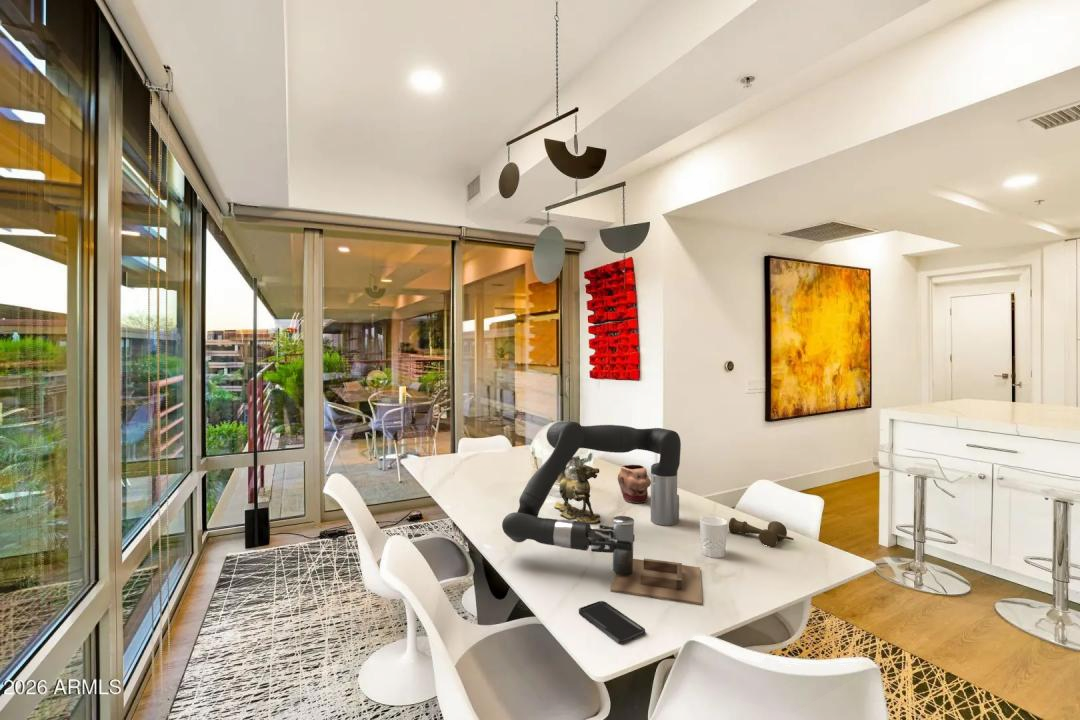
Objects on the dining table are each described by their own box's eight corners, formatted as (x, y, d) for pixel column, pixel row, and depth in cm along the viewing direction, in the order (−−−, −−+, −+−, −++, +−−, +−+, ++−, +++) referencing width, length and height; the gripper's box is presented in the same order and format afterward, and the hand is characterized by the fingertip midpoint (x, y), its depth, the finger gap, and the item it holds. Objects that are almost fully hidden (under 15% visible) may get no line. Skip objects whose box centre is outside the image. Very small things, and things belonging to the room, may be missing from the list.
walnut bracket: (610, 591, 121) (610, 579, 121) (620, 559, 140) (620, 548, 140) (702, 605, 115) (702, 592, 115) (699, 569, 134) (699, 558, 134)
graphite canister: (624, 564, 134) (625, 514, 134) (637, 572, 129) (638, 521, 129) (608, 568, 131) (609, 517, 131) (620, 576, 126) (621, 524, 126)
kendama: (736, 529, 166) (799, 544, 152) (724, 537, 160) (789, 553, 145) (736, 512, 166) (798, 525, 152) (724, 519, 159) (788, 534, 145)
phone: (602, 600, 115) (647, 630, 103) (602, 604, 116) (647, 635, 103) (576, 609, 111) (619, 642, 99) (576, 614, 111) (619, 647, 99)
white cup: (726, 550, 147) (726, 517, 147) (727, 560, 140) (728, 526, 140) (699, 546, 150) (699, 514, 150) (699, 556, 142) (699, 523, 142)
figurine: (581, 527, 166) (582, 469, 166) (543, 507, 187) (543, 455, 187) (610, 520, 173) (610, 464, 172) (570, 502, 194) (570, 452, 194)
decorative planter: (607, 494, 206) (608, 461, 205) (632, 491, 210) (632, 459, 210) (633, 508, 187) (633, 472, 187) (659, 504, 191) (659, 470, 191)
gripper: (566, 530, 127) (630, 538, 122) (577, 513, 141) (636, 519, 136) (565, 558, 127) (630, 567, 122) (577, 538, 141) (635, 545, 136)
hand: (632, 542), depth 129 cm, fingers closed on graphite canister, 5 cm apart
